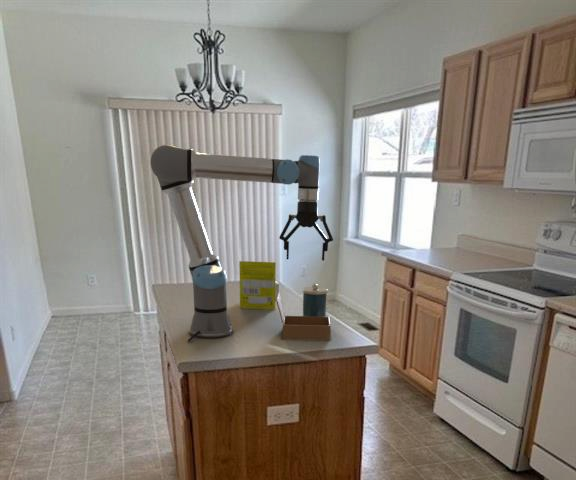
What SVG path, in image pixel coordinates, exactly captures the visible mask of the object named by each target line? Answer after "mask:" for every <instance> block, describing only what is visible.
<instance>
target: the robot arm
mask: <svg viewBox="0 0 576 480" xmlns="http://www.w3.org/2000/svg"><path fill="white" fill-rule="evenodd" d="M150 156H151V157H150V168H151V171H152V172H153V174H154V175H155V177H156V178H157V181H158V184H159V186H160V189H161V192H162V193H164V194H166V195H167V197H168V199H169V202H170V206H171V208H172V211H173V214H174V217H175V219H176V223H177V225H178V228H179V231H180V234H181V237H182V240H183V243H184V245H185V248H186V251H187V254H188V257H189V260H190V261H189V262H188V265H187V267H188V269H189V273H190V274H191V279H192V285H193V286H192V289H193V307H194V312H193V317H192V322H191V324H190V326H189V327H190V328H189V330H190V331H189V332H190V334H191V336H190V337H189V338H188V339H187V342H191V341H192V340H193V339H195V338H196V337H197V338H202V339H217V338H218V339H219V338H224V337H228V336H231V334H233V325H232V324H231V320H230V317H229V313H228V308H227V304H228V301H227V278H228V277H227V273H226V270H225V269H224V267H222V266H221V265H222V264H221V262H220V258H219V256H218V255H217V254H215V253H213V251H212V247H211V245H210V242H209V239H208V235H207V232H206V229H205V227H204V224H203V223H204V222H203V221H202V216H201V213H200V212H199V208H198V205H197V202H196V198H195V196H194V193H193V190H192V186H193V184H194V180H195V179H205V180H206V179H208V180H220V181H221V180H223V181H235V182H236V181H237V182H252V183H266V184H267V183H269V184H280V185H293V184H297V185H298V186H297V200H298V201H297V209H296V214H292V213H289V214H288V219H287V221H286V223H285V225H284V227H283V229H282V231H281V233H280V234H279V237H278V238H279V240H280V241H281V240H282V242H283V250H284V251H286V260H289V259H290V258H289V256H290V240H289V239H291V237H292V236H293V235H294V233H296V231H297V230H298V229H299V228H300V227H301V228H314V229H315V231H316V232H317V233H318V234H319V236H320V237H321V238H322V240H323V242H322V250H321V261H325V254H326V253H325V252H328V251H329V243H330V242H333V241H334V238H333V235H332V233H331V230H330V228H329V225H328V223H327V218H326V215H325V214H322V215H318V214H319V213H318V211H319V210H318V209H319V203H318V201H319V192H320V191H319V190H320V189H319V187H320V172H321V164H320V163H321V159H320V157H319V156H318V155H308V154H307V155H306V154H303V155H302V154H301V155H299V158H298V160H292V159H287V158H286V159H281V158H280V159H279V158H265V157H252V156H240V155H239V156H238V155H227V154H214V153H213V154H212V153H200V152H195V150H194V149H189V148H183V147H177V146H175V145H171V144H162V145H160V146H158V147H157V148H155V149H154V150H153V152H152V154H151V155H150ZM295 219H296V221H297V223H296V224H295V225H294V227H292V229H291V230H290V231H289V232H288V233H287V234H286V232H287V231H288V229H289V226H290V225H291V223H292V222H293V221H294V220H295ZM318 220H319V221H320V222H322V225H323V227H324V230H325V232H326V234H327V236H326V235H325V234H324V233H323V231H322V230H321V228H320V227H319V225H318V224H317V222H318ZM285 235H286V236H285ZM327 237H328V238H327Z"/></svg>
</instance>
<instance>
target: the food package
mask: <svg viewBox="0 0 576 480" xmlns="http://www.w3.org/2000/svg"><path fill="white" fill-rule="evenodd" d="M276 264H277V263H276V262H275V261H274V262H273V261H248V260H247V261H246V260H245V261H244V260H239V262H238V265H239V268H238V269H239V270H238V271H239V308H240V309H257V310H261V309H262V310H276V300H275V281H276V269H277V268H276V267H277V266H276Z"/></svg>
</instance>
